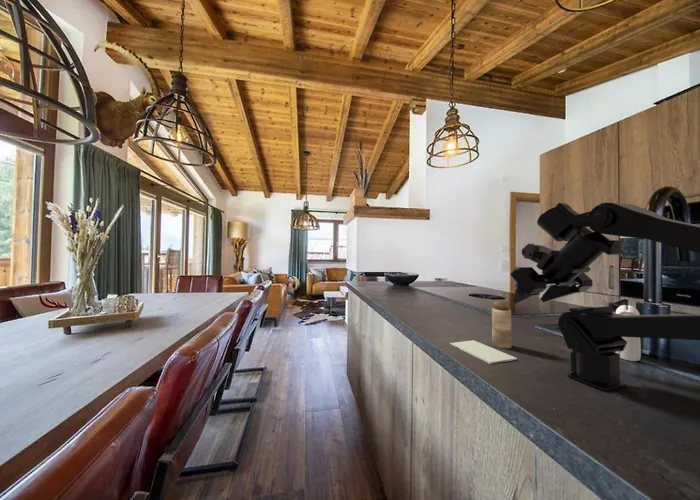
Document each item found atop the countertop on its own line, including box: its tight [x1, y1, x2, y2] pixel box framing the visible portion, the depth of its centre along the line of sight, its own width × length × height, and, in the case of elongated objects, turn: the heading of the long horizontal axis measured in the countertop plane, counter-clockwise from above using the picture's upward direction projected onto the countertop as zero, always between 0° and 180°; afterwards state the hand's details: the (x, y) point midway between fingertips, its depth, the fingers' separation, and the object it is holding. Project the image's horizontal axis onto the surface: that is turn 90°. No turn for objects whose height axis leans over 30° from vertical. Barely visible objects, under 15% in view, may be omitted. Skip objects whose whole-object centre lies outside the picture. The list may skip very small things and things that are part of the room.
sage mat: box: [449, 339, 518, 365], centre depth 69 cm, size 14×8×1 cm, turn 17°
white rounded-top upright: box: [615, 304, 642, 362], centre depth 67 cm, size 10×4×12 cm, turn 134°
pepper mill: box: [491, 300, 512, 350], centre depth 74 cm, size 5×5×12 cm
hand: (528, 301), depth 66 cm, fingers open, 9 cm apart
